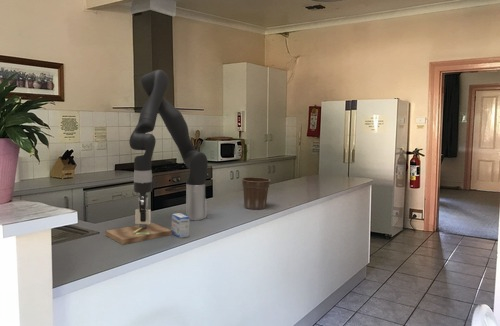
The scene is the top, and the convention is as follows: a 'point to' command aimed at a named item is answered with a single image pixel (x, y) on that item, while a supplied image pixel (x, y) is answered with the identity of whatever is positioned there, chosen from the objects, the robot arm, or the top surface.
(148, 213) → the toy mallet
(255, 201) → the plant pot
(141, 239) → the brown flat wooden board
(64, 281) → the top surface
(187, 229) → the medicine box
